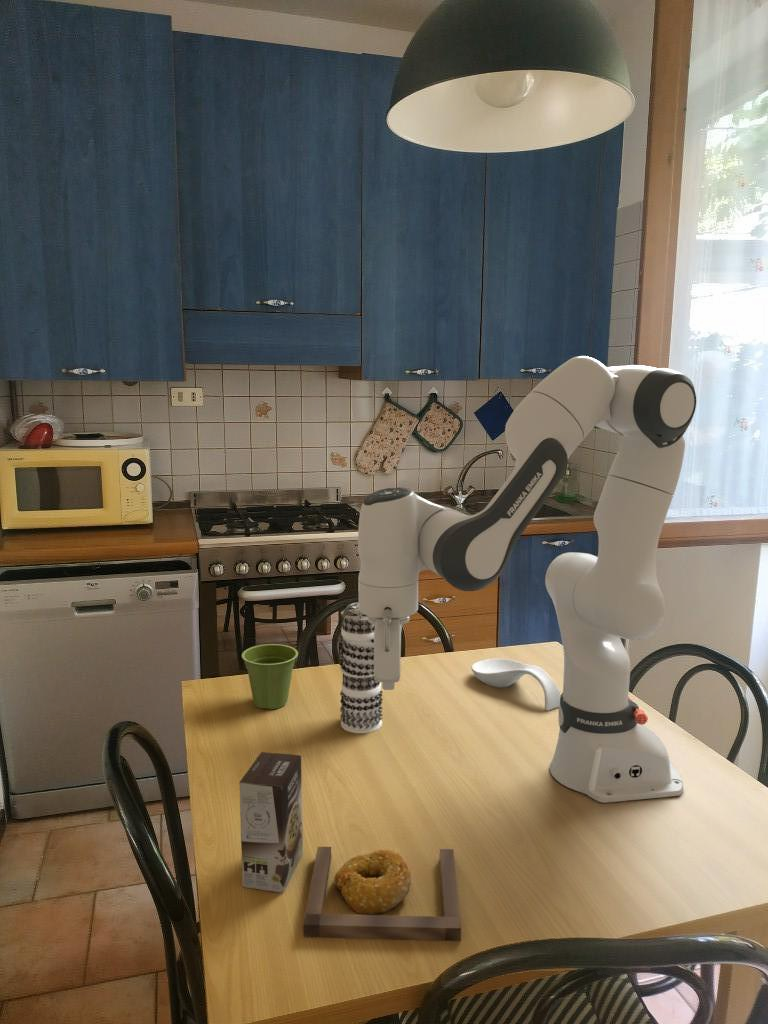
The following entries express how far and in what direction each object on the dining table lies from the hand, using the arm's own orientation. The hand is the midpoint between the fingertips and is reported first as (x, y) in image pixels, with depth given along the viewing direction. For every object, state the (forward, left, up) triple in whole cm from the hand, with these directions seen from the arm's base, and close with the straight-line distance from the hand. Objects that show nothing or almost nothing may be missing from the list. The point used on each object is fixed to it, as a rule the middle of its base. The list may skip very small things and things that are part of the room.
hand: (388, 686), depth 115 cm
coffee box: (+16, +10, -24) cm, 31 cm away
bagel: (+2, +14, -25) cm, 28 cm away
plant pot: (+26, -45, -24) cm, 57 cm away
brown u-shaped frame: (0, +15, -24) cm, 29 cm away
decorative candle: (+6, -36, -24) cm, 44 cm away
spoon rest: (-27, -53, -25) cm, 65 cm away
